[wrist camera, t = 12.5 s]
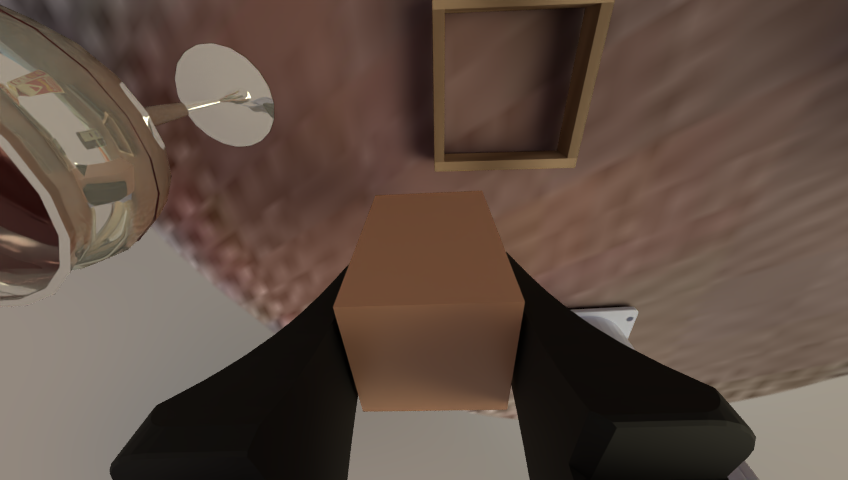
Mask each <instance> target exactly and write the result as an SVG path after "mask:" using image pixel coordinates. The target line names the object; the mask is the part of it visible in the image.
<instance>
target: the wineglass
mask: <svg viewBox="0 0 848 480" xmlns="http://www.w3.org/2000/svg"><path fill="white" fill-rule="evenodd" d="M175 82H176V88H177V94H178V97H179V99H180V101H181V102H178V103H170V104H163V105H155V106H148V107H143V106H142V105H141V104H140V103H139V102H138V100H137V99H136V98H135V97H134V96H133V94H132V93H131V92H130V91H129V90H128V88H127V87H126V86H125V85H124V84H123V82H122V81H121V80H120V79H119V78H118V76H116V75H115V74H114V73H113V72H112V71H110V70H109V69H108V68H107V67H106V66H104V65H103V64H102V63H101V62H99V61H98V60H97V59H96V58H95V57H93V56H92V55H91V54H90V53H89V52H87V51H86V50H85V49H84V48H82V47H81V46H80V45H79V44H78V43H76V42H74V41H72V40H70V39H68V38H67V37H65V36H63V35H61V34H59V33H57V32H55V31H54V30H52V29H50V28H48V27H46V26H44V25H42V24H41V23H39V22H37V21H35V20H33V19H31V18H29V17H27V16H25V15H22V14H20V13H18V12H15V11H13V10H11V9H9V8H6V7H4V6H2V5H0V307H13V306H28V305H30V304H32V303H35V302H37V301H39V300H42V299H44V298H47V297H49V296H51V295H54V294H55V293H56V292H57V290H58V289H59V288H60V286H61V285H62V283H63V282H64V281H65V279H66V278H67V276H68V275H69V273H70V272H71V270H76V269H82V268H85V267H87V266H90V265H92V264H95V263H98V262H100V261H103V260H105V259H107V258H110V257H112V256H114V255H117V254H119V253H121V252H124V251H126V250H128V249H129V248H130V247H131V246H132V245H133V244H134V243H135V242H137V241H139V240H140V239H141V237H142V236H143V235H144V234H145V233H146V232H147V230H148V229H149V228H150V227H151V225H152V224H153V223H154V222H155V220H156V219H157V218H158V217H159V215H160V214H161V212H162V210H163V208H164V206H165V204H166V202H167V200H168V194H169V189H170V183H171V177H172V176H171V171H170V167H169V162H168V157H167V152H166V148H165V145H164V143H163V141H162V139H161V137H160V136H159V134H158V132H157V130H156V128H155V126H158V125H161V124H164V123H167V122H170V121H173V120H176V119H179V118H182V117H185V116H188V115H189V117H190V118H191V119H192V121H193V122H194V123H195V124H196V125H197V126H198V127H199V128H200V129H201V130H202V131H204V132H205V133H206V134H207V135H208V136H210V137H212V138H214V139H216V140H218V141H220V142H221V143H223V144H228V145H232V146H236V147H241V146H251V145H253V144H255V143H258V142H260V141H262V140H263V139H264V137H265V136H266V135H267V134H268V133H269V132H270V129H271V126H272V123H273V120H274V103H273V100H272V96H271V93H270V90H269V87H268V85H267V84H266V82H265V80H264V79H263V77H262V76H261V74H260V72H259V71H258V70H257V69H256V68H255V67H254V66H253V65H252V64H251V63H250V62H249V61H248V60H247V59H246V58H245V57H244V56H242V55H240V54H239V53H237V52H235V51H234V50H232V49H230V48H228V47H224V46H221V45H217V44H213V43H210V44H199V45H196V46H194V47H192V48H191V49H189V50H187V51H185V52H184V54H183V55H182V57H181V59H180V60H179V62H178V63H177V69H176V75H175Z"/></svg>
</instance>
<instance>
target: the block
mask: <svg viewBox="0 0 848 480" xmlns="http://www.w3.org/2000/svg"><path fill="white" fill-rule="evenodd" d="M524 304H525V301H524V298H523V296H522V293H521V290H520V288H519V285H518V283H517V280H516V278H515V275H514V272H513V270H512V267H511V265H510V262H509V259H508V257H507V254H506V252H505V249H504V246H503V244H502V241H501V239H500V236H499V234H498V231H497V228H496V226H495V223H494V221H493V218H492V215H491V213H490V210H489V208H488V205H487V202H486V200H485V197H484V195H483V192H482V191H464V192H441V193H418V194H395V195H375V198H374V201H373V203H372V206H371V209H370V211H369V214H368V216H367V219H366V222H365V224H364V227H363V230H362V232H361V235H360V238H359V240H358V243H357V245H356V248H355V251H354V253H353V256H352V259H351V261H350V264H349V266H348V269H347V272H346V274H345V277H344V280H343V282H342V285H341V287H340V290H339V293H338V295H337V298H336V301H335V303H334V306H333V309H334V313H335V316H336V320H337V323H338V326H339V330H340V333H341V337H342V340H343V344H344V347H345V351H346V354H347V357H348V361H349V364H350V368H351V371H352V375H353V378H354V382H355V385H356V389H357V392H358V395H359V399H360V402H361V406H362V409H363V411H364V412H365V411H366V412H367V411H428V410H430V411H431V410H435V411H436V410H506V409H507V406H508V400H509V394H510V388H511V382H512V376H513V370H514V364H515V358H516V352H517V346H518V340H519V334H520V328H521V322H522V316H523V310H524Z"/></svg>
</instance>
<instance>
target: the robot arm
mask: <svg viewBox="0 0 848 480" xmlns="http://www.w3.org/2000/svg"><path fill="white" fill-rule="evenodd" d="M506 254H507V257H508V259H509V262H510V265H511V267H512V270H513V272H514V275H515V278H516V280H517V283H518V285H519V288H520V290H521V293H522V296H523V298H524V301H525V304H524V310H523V316H522V322H521V328H520V334H519V340H518V346H517V352H516V358H515V364H514V370H513V376H512V382H511V385H512V390H513V395H514V400H515V404H516V409H517V414H518V419H519V425H520V430H521V435H522V440H523V445H524V450H525V456H526V462H527V467H528V473H529V478H530V480H759V478H758V477H757V476H756V475H755V473H754V472H753V471H752V469H751V468H750V467H749V466H748V464H747V463H746V462H745V460H746V459H747V458H748V456H749V455H750V454H751V452H752V451H753V450H754V446H755V439H756V436H755V435H754V433H753V431H752V430H751V429H750V427H749V426H748V425H747V424H746V423H745V422H744V420H743V419H742V418H741V417H740V416H739V415H738V414H737V412H736V411H735V410H734V409H733V408H732V407H731V405H730V404H729V403H728V402H727V401H726V400H725V399H724V397H723V396H722V395H721V394H720V393H719V392H718V391H717V390H716V389H715V388H714V387H711V386H709V385H707V384H705V383H702V382H700V381H698V380H696V379H694V378H691V377H689V376H687V375H685V374H682V373H680V372H678V371H676V370H673V369H671V368H669V367H667V366H665V365H663V364H661V363H659V362H657V361H655V360H653V359H651V358H649V357H647V356H645V355H643V354H641V353H639V352H637V351H635V349H634V348H633V346H632V345H631V343H630V342H629V341H628V337H629V335H630V332H631V330H632V327H633V325H634V322H635V320H636V317H637V315H638V311H637V309H636V308H635V307H613V308H594V309H575V310H570V309H568V308H567V307H566V306H564V305H563V304H562V303H560V302H559V301H558V300H557V299H556V298H554V297H553V296H552V295H551V294H549V293H548V292H547V291H546V290H545V289H544V288H543V287H542V286H540V285H539V284H538V283H537V282H536V281H535V280H534V279H533V278H532V277H531V276H530V275H529V274H528V273H527V272H526V271H525V270H524V269H523V268H522V267H521V266H520V265H519V264H518V263H517V262H516V261H515V260H514V259H513V258H512V257H511V256H510V255H509V254H508V253H507V252H506ZM348 266H349V265H348ZM348 266H347V267H346V268H345V269H344V270H343V271H342V272H341V273H340V275H339V276H338V277H337V278H336V279H335V280H334V281H333V282H332V283H331V284H330V285H329V286H328V287H327V288H326V289H325V291H324V292H323V293H322V294H321V295H320V296H319V297H318V298H317V299H316V300H314V301H313V302H312V303H311V304H310V305H309V306H308V307H307V308H306V309H305V310H304V311H303V312H302V313H301V314H300V315H298V316H297V317H296V318H295V319H294V320H293V321H291V322H290V323H289V324H288V325H286V326H285V327H284V328H283V329H281V330H280V331H279V332H278V333H276V334H275V335H274V336H272V337H271V338H269V339H268V340H267V341H265V342H264V343H263V344H261V345H259V346H258V347H257V348H255V349H254V350H252V351H251V352H249V353H248V354H247V355H245V356H243V357H242V358H240V359H239V360H237V361H236V362H234V363H232V364H231V365H229V366H228V367H226V368H224V369H223V370H221V371H219V372H217V373H216V374H214V375H212V376H211V377H209V378H207V379H206V380H204V381H202V382H200V383H198V384H196V385H194V386H193V387H191V388H189V389H187V390H185V391H183V392H181V393H179V394H177V395H176V396H174V397H172V398H170V399H168V400H166V401H164V402H162V403H160V404H158V405H157V406H156V407H155V408H154V409H153V410H152V412H151V413H150V414H149V415H148V417H147V418H146V419H145V421H144V422H143V423H142V425H141V426H140V427H139V429H138V430H137V431H136V432H135V434H134V435H133V436H132V437H131V439H130V440H129V441H128V443H127V444H126V445H125V447H124V448H123V449H122V450H121V452H120V453H119V454H118V456H117V457H116V458H115V460H114V461H113V462H112V463H111V467H110V475H111V477H112V479H113V480H347V477H348V469H349V460H350V451H351V443H352V435H353V427H354V420H355V412H356V406H357V399H358V392H357V389H356V385H355V382H354V378H353V375H352V371H351V368H350V364H349V361H348V357H347V354H346V351H345V347H344V344H343V340H342V337H341V333H340V330H339V326H338V323H337V320H336V316H335V313H334V309H333V306H334V303H335V301H336V298H337V295H338V293H339V290H340V287H341V285H342V282H343V280H344V277H345V274H346V272H347V269H348Z"/></svg>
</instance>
